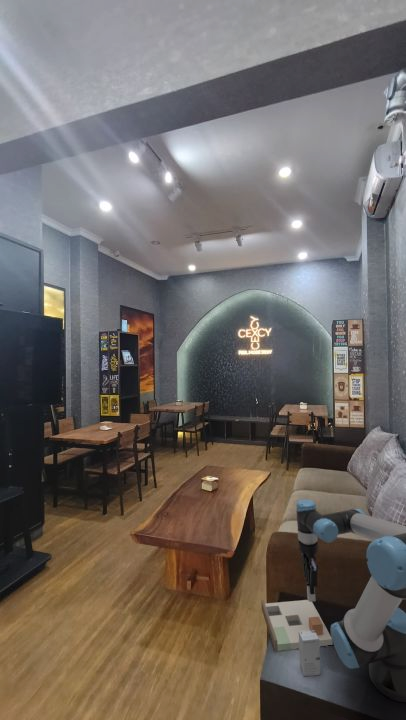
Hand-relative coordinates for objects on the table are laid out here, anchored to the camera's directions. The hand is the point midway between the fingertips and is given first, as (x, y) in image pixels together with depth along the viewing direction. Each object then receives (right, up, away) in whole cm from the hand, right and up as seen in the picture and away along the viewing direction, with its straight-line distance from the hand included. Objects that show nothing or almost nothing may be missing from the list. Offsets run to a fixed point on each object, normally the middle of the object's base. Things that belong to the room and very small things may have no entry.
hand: (311, 600), depth 138 cm
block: (+1, -10, -4) cm, 10 cm away
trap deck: (-6, -12, +2) cm, 14 cm away
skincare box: (-6, -12, -18) cm, 22 cm away
